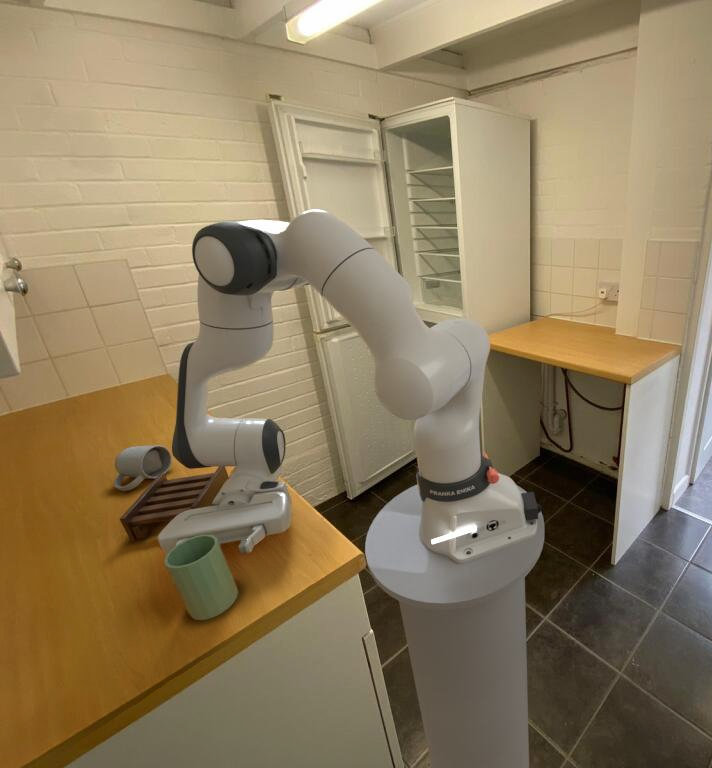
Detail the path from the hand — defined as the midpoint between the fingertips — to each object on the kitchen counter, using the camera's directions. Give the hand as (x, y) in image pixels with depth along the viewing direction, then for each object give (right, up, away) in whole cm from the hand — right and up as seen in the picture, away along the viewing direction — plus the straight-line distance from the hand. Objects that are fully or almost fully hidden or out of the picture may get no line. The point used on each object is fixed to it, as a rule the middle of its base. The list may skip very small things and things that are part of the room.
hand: (212, 556), depth 68 cm
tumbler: (+1, -7, -1) cm, 7 cm away
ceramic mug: (-39, +6, +31) cm, 50 cm away
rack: (-20, +2, +20) cm, 28 cm away
